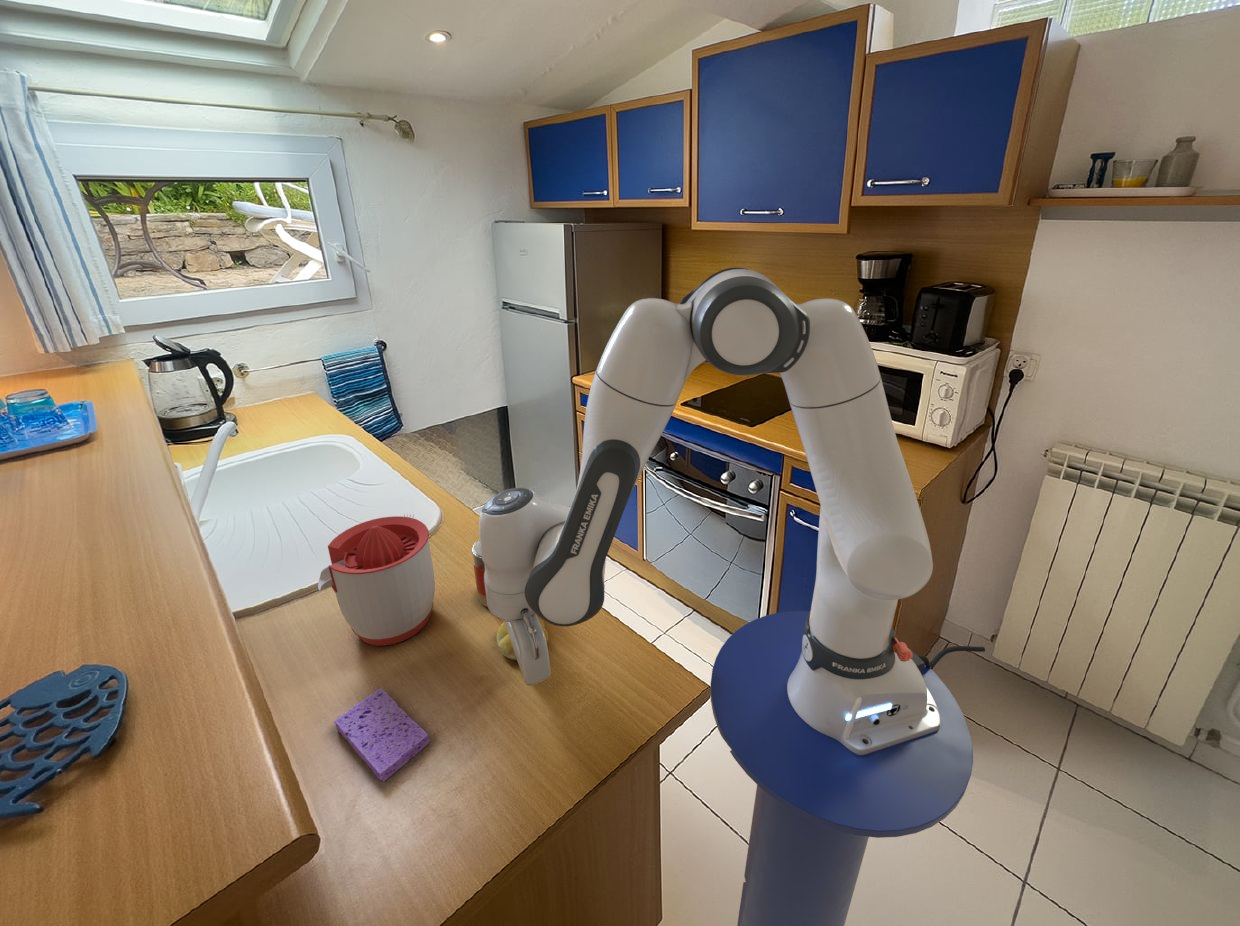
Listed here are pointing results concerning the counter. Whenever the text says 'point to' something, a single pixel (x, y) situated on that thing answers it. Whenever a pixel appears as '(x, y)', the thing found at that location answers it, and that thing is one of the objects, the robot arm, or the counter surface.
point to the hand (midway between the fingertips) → (523, 659)
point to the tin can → (479, 573)
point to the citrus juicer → (382, 578)
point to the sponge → (382, 733)
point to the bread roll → (506, 644)
